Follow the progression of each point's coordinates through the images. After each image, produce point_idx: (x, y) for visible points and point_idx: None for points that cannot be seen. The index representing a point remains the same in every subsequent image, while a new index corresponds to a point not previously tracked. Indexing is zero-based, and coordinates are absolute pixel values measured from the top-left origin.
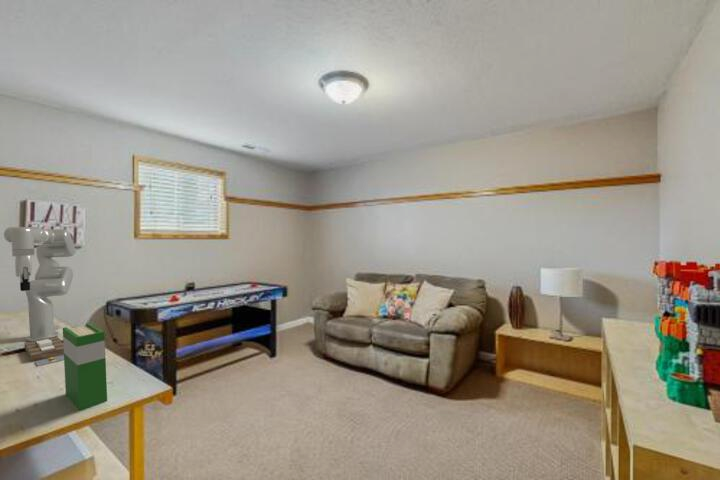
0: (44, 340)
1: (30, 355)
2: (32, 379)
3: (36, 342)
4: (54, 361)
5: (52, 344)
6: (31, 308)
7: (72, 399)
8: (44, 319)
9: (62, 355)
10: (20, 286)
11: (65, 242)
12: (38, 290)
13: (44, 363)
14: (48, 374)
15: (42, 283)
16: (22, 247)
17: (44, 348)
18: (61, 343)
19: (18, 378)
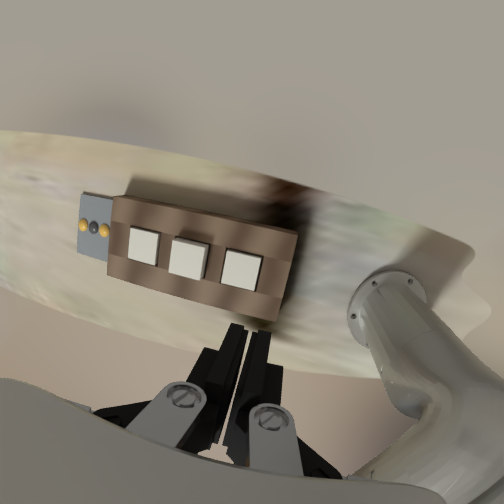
0: (244, 276)
1: (132, 199)
2: (30, 168)
3: (253, 256)
4: (78, 226)
5: None
6: (426, 341)
7: None
8: (375, 345)
9: (105, 255)
10: (253, 356)
11: None
12: (429, 433)
13: (81, 208)
14: (31, 193)
15: (434, 482)
16: None
17: (140, 238)
18: (162, 288)
19: (50, 152)
